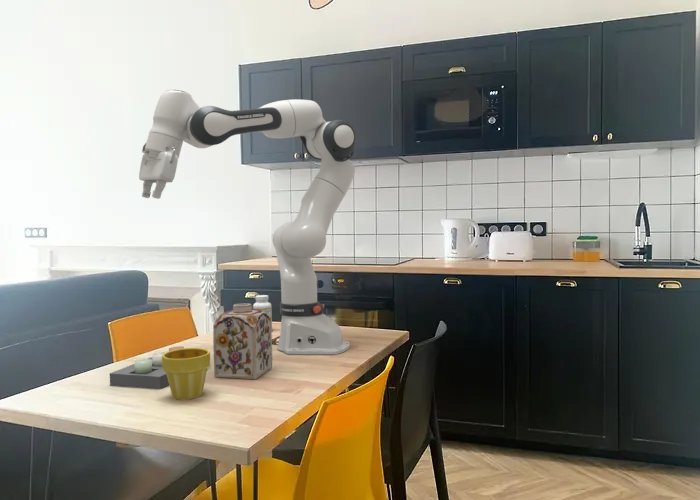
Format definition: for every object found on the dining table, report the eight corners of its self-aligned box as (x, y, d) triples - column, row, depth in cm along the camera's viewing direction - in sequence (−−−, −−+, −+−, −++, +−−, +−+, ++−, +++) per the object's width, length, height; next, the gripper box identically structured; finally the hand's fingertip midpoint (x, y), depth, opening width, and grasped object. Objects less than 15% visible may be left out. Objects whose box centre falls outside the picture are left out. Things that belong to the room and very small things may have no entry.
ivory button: (172, 364, 141) (171, 352, 141) (163, 368, 137) (162, 356, 137) (159, 363, 142) (158, 352, 142) (149, 367, 138) (149, 355, 138)
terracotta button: (187, 357, 148) (187, 346, 148) (179, 361, 144) (178, 350, 144) (174, 357, 149) (174, 346, 149) (165, 360, 145) (165, 349, 145)
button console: (207, 366, 148) (206, 355, 148) (160, 389, 128) (159, 376, 128) (162, 363, 152) (162, 353, 152) (110, 385, 132) (109, 373, 131)
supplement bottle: (254, 329, 199) (253, 294, 199) (272, 329, 200) (272, 294, 199) (252, 333, 193) (251, 297, 192) (271, 332, 193) (270, 296, 192)
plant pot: (197, 404, 117) (196, 359, 116) (154, 401, 119) (152, 357, 118) (218, 389, 127) (217, 348, 126) (178, 387, 129) (177, 346, 129)
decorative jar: (256, 380, 134) (254, 308, 133) (212, 378, 137) (210, 307, 136) (273, 367, 145) (272, 301, 145) (233, 366, 148) (231, 300, 147)
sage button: (155, 371, 134) (155, 359, 134) (145, 375, 130) (145, 363, 130) (141, 370, 135) (141, 358, 135) (131, 374, 132) (130, 362, 131)
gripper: (187, 150, 140) (174, 201, 139) (163, 153, 156) (151, 200, 156) (164, 141, 136) (150, 195, 135) (141, 146, 153) (128, 194, 152)
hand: (150, 197), depth 146 cm, fingers open, 8 cm apart
